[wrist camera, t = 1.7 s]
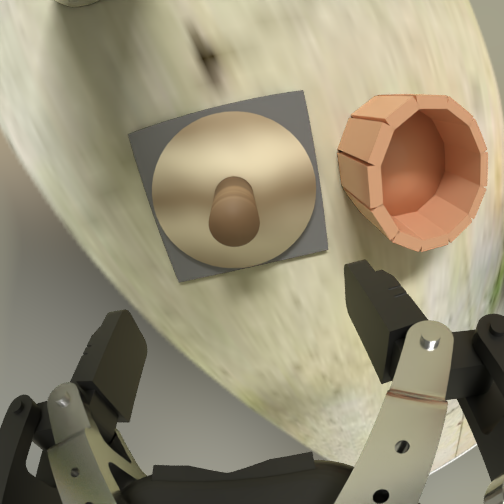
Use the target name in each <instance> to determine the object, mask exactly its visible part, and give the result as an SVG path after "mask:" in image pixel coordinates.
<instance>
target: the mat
mask: <svg viewBox="0 0 504 504" xmlns="http://www.w3.org/2000/svg"><path fill="white" fill-rule="evenodd" d="M231 111H239V112H249V113H253V114H257V115H261V116H264V117H266V118H269V119H271V120H273V121H275V122H276V123H278V124H280V125H282V126H283V127H284V128H286V129H287V130H288V131H289V132H291V133H292V134H293V135H294V137H295V138H296V139H297V140H298V141H299V142H300V144H301V145H302V146H303V148H304V149H305V151H306V153H307V155H308V156H309V158H310V161H311V164H312V166H313V170H314V174H315V180H316V199H315V205H314V209H313V212H312V215H311V218H310V220H309V222H308V224H307V226H306V228H305V229H304V231H303V233H302V234H301V235H300V237H299V238H298V239H297V240H296V241H295V243H293V244H292V245H291V246H290V247H289V248H288V249H287V250H285V251H284V252H283V253H281V254H280V255H278V256H277V257H275V258H273V259H271V260H269V261H266V262H264V263H262V264H267V263H271V262H276V261H280V260H285V259H289V258H294V257H298V256H302V255H307V254H311V253H316V252H320V251H324V250H328V242H327V233H326V225H325V216H324V209H323V201H322V194H321V187H320V180H319V173H318V167H317V161H316V155H315V149H314V143H313V137H312V132H311V126H310V121H309V116H308V111H307V106H306V101H305V96H304V92H303V90H301V91H294V92H287V93H281V94H275V95H269V96H264V97H259V98H253V99H249V100H244V101H239V102H235V103H230V104H226V105H222V106H218V107H214V108H210V109H206V110H202V111H198V112H195V113H191V114H188V115H184V116H181V117H178V118H174V119H171V120H168V121H165V122H162V123H159V124H156V125H153V126H150V127H147V128H144V129H141V130H138V131H135V132H133V133H130V134H128V136H129V140H130V143H131V147H132V150H133V153H134V157H135V160H136V163H137V167H138V170H139V173H140V176H141V179H142V182H143V186H144V189H145V192H146V195H147V198H148V201H149V204H150V207H151V209H152V212H153V215H154V218H155V221H156V224H157V226H158V229H159V232H160V235H161V237H162V240H163V243H164V246H165V248H166V251H167V253H168V256H169V259H170V261H171V264H172V266H173V269H174V272H175V274H176V277H177V279H178V282H183V281H188V280H193V279H198V278H202V277H207V276H212V275H216V274H221V273H226V272H230V271H235V270H239V269H244V268H249V267H244V268H222V267H217V266H212V265H209V264H206V263H203V262H200V261H198V260H196V259H194V258H192V257H191V256H189V255H187V254H186V253H184V252H183V251H182V250H180V249H179V248H178V247H177V246H176V245H175V244H174V243H173V242H172V241H171V240H170V239H169V237H168V236H167V235H166V234H165V232H164V230H163V229H162V227H161V225H160V223H159V221H158V219H157V216H156V213H155V210H154V206H153V199H152V182H153V175H154V171H155V168H156V164H157V162H158V160H159V158H160V155H161V154H162V152H163V150H164V149H165V147H166V146H167V144H168V143H169V142H170V141H171V140H172V138H173V137H174V136H175V135H176V134H177V133H179V132H180V131H181V130H182V129H183V128H185V127H186V126H188V125H189V124H191V123H192V122H194V121H196V120H198V119H200V118H202V117H206V116H209V115H212V114H216V113H221V112H231ZM262 264H258V265H262ZM258 265H254V266H258ZM250 267H253V266H250Z"/></svg>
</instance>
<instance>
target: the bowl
mask: <svg viewBox="0 0 504 504" xmlns="http://www.w3.org/2000/svg"><path fill="white" fill-rule="evenodd" d="M351 116H352V117H353V118H349V119H348V122H347V125H346V127H345V130H344V133H343V135H342V138H341V141H340V144H339V146H338V149H339V150H341V151H343V152H338V153H337V155H338V162H339V170H340V178H341V185H342V186H343V187H344V188H343V190H344V191H345V192H346V194H347V195H348V196H349V198H350V199H351V200H352V202H353V203H354V204H355V206H356V207H357V209H358V210H359V211H360V213H362V214H363V215H364V216H365V217H366V218H367V219H368V220H369V221H370V222H371V223H372V224H374V225H375V226H376V227H377V228H378V229H379V230H380V231H381V232H382V233H383V234H384V235H385V236H386V237H387V238H388V239H389V240H391V241H392V242H393V243H396V244H398V245H401V246H404V247H407V248H409V249H412V250H415V251H417V252H419V251H421V252H424V251H427V250H431V249H434V248H438V247H441V246H445V245H448V241H449V242H450V243H451V242H452V241H453V240H454V239H455V238H456V237H457V236H458V235H459V234H460V233H461V232H462V231H463V230H464V229H465V228H466V227H467V226H468V225H469V224H470V223H471V222H472V220H471V218H473V219H474V218H475V215H476V213H477V211H478V209H479V206H480V204H481V201H482V199H483V196H484V194H485V191H486V189H485V188H484V186H487V175H488V152H485V151H486V150H487V147H486V145H485V142H484V139H483V137H482V134H481V132H480V129H479V127H478V125H477V122H476V120H475V119H473V116H472V115H471V114H470V113H469V112H468V111H467V110H465V109H464V108H463V107H462V106H461V105H459V104H458V103H457V102H456V101H454V100H453V99H452V98H451V97H447V96H446V95H425V94H393V95H377V96H374V97H373V98H372V99H370V100H369V101H368V102H367V103H365V104H364V105H363V106H361V107H360V108H359V109H358V110H356V111H355V112H354V113H353V114H351Z"/></svg>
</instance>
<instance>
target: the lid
mask: <svg viewBox="0 0 504 504" xmlns="http://www.w3.org/2000/svg"><path fill="white" fill-rule="evenodd" d="M152 199H153V206H154V210H155V213H156V216H157V219H158V221H159V223H160V225H161V227H162V229H163V230H164V232H165V234H166V235H167V236H168V237H169V239H170V240H171V241H172V242H173V243H174V244H175V245H176V246H177V247H178V248H179V249H180V250H182V251H183V252H184V253H186V254H187V255H189V256H191V257H192V258H194V259H196V260H198V261H200V262H203V263H206V264H209V265H212V266H217V267H222V268H244V267H250V266H254V265H258V264H262V263H264V262H266V261H269V260H271V259H273V258H275V257H277V256H278V255H280V254H281V253H283V252H284V251H285V250H287V249H288V248H289V247H290V246H291V245H292V244H293V243H295V241H296V240H297V239H298V238H299V237H300V235H301V234H302V233H303V231H304V229H305V228H306V226H307V224H308V222H309V220H310V218H311V215H312V212H313V209H314V205H315V199H316V180H315V174H314V170H313V166H312V164H311V161H310V158H309V156H308V155H307V153H306V151H305V149H304V148H303V146H302V145H301V144H300V142H299V141H298V140H297V139H296V138H295V137H294V135H293V134H292V133H291V132H289V131H288V130H287V129H286V128H284V127H283V126H282V125H280V124H278V123H276V122H275V121H273V120H271V119H269V118H266V117H264V116H261V115H257V114H253V113H249V112H239V111H231V112H221V113H216V114H212V115H209V116H206V117H202V118H200V119H198V120H196V121H194V122H192V123H191V124H189V125H188V126H186V127H185V128H183V129H182V130H181V131H180V132H179V133H177V134H176V135H175V136H174V137H173V138H172V140H171V141H170V142H169V143H168V144H167V146H166V147H165V149H164V150H163V152H162V154H161V155H160V158H159V160H158V162H157V164H156V168H155V171H154V175H153V182H152Z"/></svg>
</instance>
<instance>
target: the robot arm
mask: <svg viewBox="0 0 504 504" xmlns="http://www.w3.org/2000/svg"><path fill="white" fill-rule="evenodd" d="M54 1H57V2H59V3H61V4H63V5H65V6H70V7H79V6H84V5H89V4H92V3H94V2H97V1H99V0H54ZM344 276H345V297H346V306H347V310H348V314H349V316H350V318H351V320H352V322H353V324H354V326H355V328H356V330H357V332H358V335H359V337H360V339H361V341H362V343H363V345H364V347H365V349H366V351H367V353H368V356H369V358H370V360H371V362H372V364H373V366H374V368H375V371H376V373H377V375H378V377H379V379H380V382H381V384H383V383H386V382H389V381H392V384H391V387H390V390H388V392H387V394H386V396H385V399H384V401H383V404H382V407H381V409H380V412H379V414H378V417H377V419H376V421H375V424H374V426H373V428H372V431H371V433H370V435H369V438H368V440H367V442H366V444H365V446H364V448H363V451H362V453H361V455H360V457H359V459H358V461H357V463H356V465H355V467H353V466H350V465H347V464H344V463H339V462H334V461H325V460H314V459H313V454H312V452H308V453H302V454H297V455H292V456H287V457H281V458H275V459H269V460H267V461H264V462H261V463H258V464H255V465H253V466H250V467H247V468H244V469H241V470H237V471H234V472H230V473H223V472H217V471H212V470H207V469H202V468H197V467H192V466H167V465H166V466H165V465H154V466H153V474H152V475H149V476H147V475H146V474H145V473H144V472H143V471H142V470H141V469H140V467H139V466H138V464H137V463H136V461H135V459H134V458H133V456H132V454H131V452H130V450H129V449H128V447H127V445H126V443H125V442H124V439H123V437H122V436H121V434H120V432H119V431H118V430H117V429H116V424H117V422H129V421H130V418H131V413H132V409H133V405H134V401H135V397H136V393H137V389H138V385H139V381H140V378H141V374H142V370H143V367H144V363H145V359H146V356H147V345H146V341H145V339H144V337H143V335H142V333H141V332H140V330H139V328H138V326H137V324H136V323H135V321H134V319H133V317H132V315H131V314H130V312H129V311H128V310H120V311H114V312H109V313H108V314H107V315H106V317H105V319H104V321H103V323H102V325H101V327H99V328H98V330H97V331H96V332H95V333H94V334H93V335H92V336H91V339H90V341H89V343H88V345H87V347H86V349H85V351H84V353H83V354H84V355H83V356H82V357H81V359H80V361H79V363H78V366H77V368H76V370H75V372H74V374H73V377H72V379H71V381H70V382H66V383H62V384H60V385H58V386H57V387H56V388H55V389H54V390H53V391H52V392H51V393H50V395H49V397H48V401H45V402H42V403H38V404H36V403H35V402H34V401H33V400H32V399H31V398H30V397H29V396H28V395H21V396H19V397H17V398H16V399H14V400H13V402H12V403H11V405H10V406H9V408H8V410H7V413H6V415H5V418H4V420H3V423H2V425H1V428H0V504H420V503H418V502H419V499H420V497H421V494H422V492H423V489H424V487H425V484H426V481H427V479H428V476H429V473H430V470H431V467H432V464H433V461H434V458H435V455H436V451H437V448H438V444H439V441H440V437H441V433H442V429H443V425H444V421H445V417H446V412H447V406H448V402H447V401H445V400H450V399H457V400H458V402H459V404H460V406H461V409H462V411H463V413H464V415H465V417H466V419H467V422H468V424H469V426H470V428H471V431H472V433H473V435H474V438H475V440H476V442H477V445H478V447H479V450H480V452H481V455H482V457H483V460H484V462H485V465H486V468H487V470H488V473H489V476H490V479H491V484H490V485H489V486H488V488H487V490H486V493H485V496H484V504H504V316H502V315H499V314H488V315H485V316H483V317H482V318H481V319H480V320H479V322H478V324H477V327H476V330H468V331H460V332H451V331H450V329H449V328H448V327H447V326H445V325H444V324H442V323H440V322H437V321H431V320H428V319H427V318H426V317H425V315H424V314H423V313H422V311H421V310H420V309H419V307H418V306H417V305H416V304H415V302H414V301H413V300H412V298H411V297H410V296H409V295H408V294H407V293H406V291H405V290H404V288H403V287H401V285H400V283H399V282H398V281H397V280H396V279H395V277H394V276H392V275H391V274H389V273H387V272H385V271H383V270H379V271H376V272H375V271H374V269H373V268H372V267H371V266H370V264H369V263H368V262H367V261H366V260H361V261H357V262H353V263H349V264H345V266H344ZM32 441H33V442H34V443H35V444H36V445H38V446H39V447H40V448H41V449H42V450H43V451H42V455H41V458H40V462H39V466H38V470H37V474H36V477H34V476H33V475H31V474H30V473H29V472H28V470H27V468H26V459H27V455H28V452H29V449H30V446H31V442H32Z"/></svg>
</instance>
